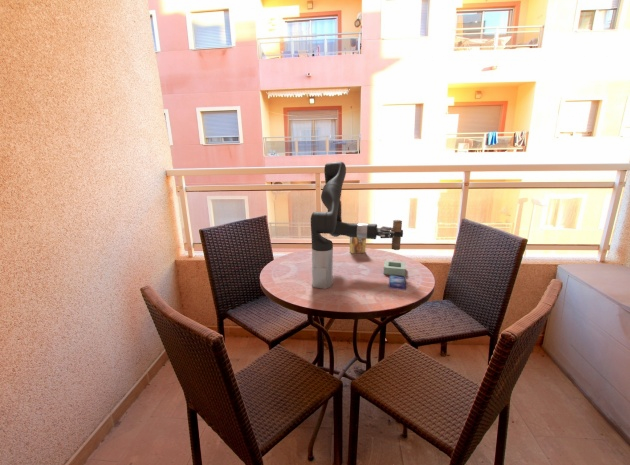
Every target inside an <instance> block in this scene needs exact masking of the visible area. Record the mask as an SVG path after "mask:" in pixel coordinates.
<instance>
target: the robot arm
mask: <svg viewBox="0 0 630 465" xmlns="http://www.w3.org/2000/svg"><path fill="white" fill-rule="evenodd" d="M346 174H347V167H346V164H345V163H344V162H343V161H334V162H326V164H325V165H324V181H325V184H324V185H323V187H322V191H321V194H320V199H321V202H322V204H323V205H324V207H325V208H326V209H327V211H313V212H312V213H311V216H310V234H311V274H312V275H311V278H312V279H311V281H312V288H314V289H315V288H316V289H324V290H326V289H328V288H330V287H332V286H333V282H334V281H333V279H334V278H333V277H334V276H333V275H334V273H333V272H334V271H333V270H334V269H333V268H334V262H333V261H334V260H333V258H334V256H333V255H334V254H333V253H334V251H333V250H334V244H333V241H332V240H330V239H328V238H326V237H325V236H323V235H322V234H326V235H330V236H332V237H336V238H337V237H339V236H346V237H349V238H350V237H357V238H364V239H366V240H376V239H377V237H380V239H392V238H393V237H394V236H395V237H401V238H403V235H404V230H403V229H401V232H394V231H393V227H388V226H382V227H378V224H377V223H356V222H355V223H351V222H345V221H344V222H343V221H342V201H341V197H342V191H343V190H342V189H343V184H344V182H345V178H346Z"/></svg>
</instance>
